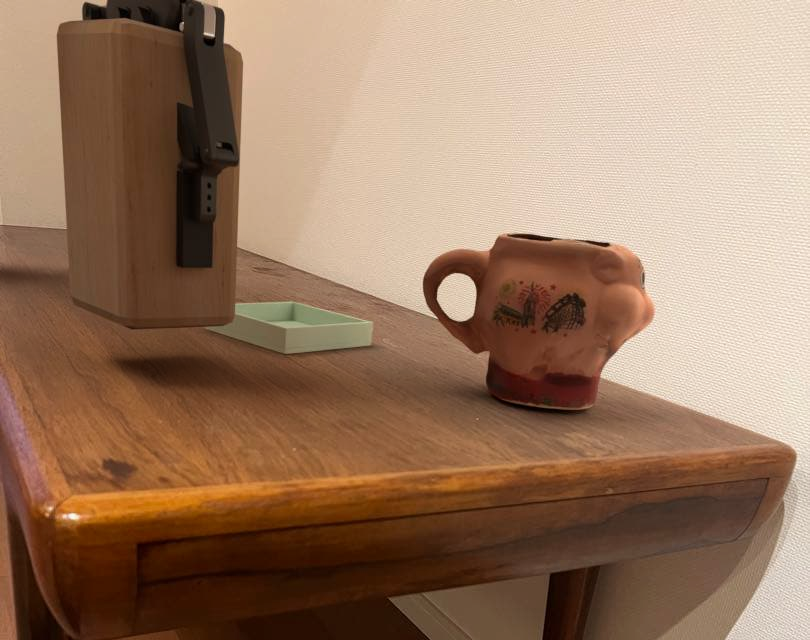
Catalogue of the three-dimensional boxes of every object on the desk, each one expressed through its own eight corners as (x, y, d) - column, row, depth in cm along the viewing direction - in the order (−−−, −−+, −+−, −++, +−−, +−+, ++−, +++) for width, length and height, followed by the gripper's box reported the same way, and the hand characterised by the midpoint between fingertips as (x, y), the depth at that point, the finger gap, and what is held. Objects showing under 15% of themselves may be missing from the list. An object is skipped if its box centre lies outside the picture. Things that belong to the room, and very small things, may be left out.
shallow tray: (204, 328, 83) (204, 304, 82) (292, 323, 92) (293, 301, 91) (284, 354, 76) (286, 328, 75) (371, 345, 85) (373, 322, 84)
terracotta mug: (418, 406, 63) (441, 224, 58) (404, 372, 74) (422, 216, 69) (651, 427, 66) (695, 254, 60) (604, 391, 77) (637, 242, 71)
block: (65, 306, 64) (49, 17, 55) (175, 304, 71) (175, 47, 62) (125, 332, 58) (118, 13, 49) (239, 328, 65) (249, 47, 56)
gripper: (305, -83, 49) (284, 280, 59) (106, -61, 62) (115, 236, 71) (208, -128, 44) (202, 281, 53) (11, -94, 56) (34, 233, 66)
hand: (152, 255), depth 62 cm, fingers closed on block, 10 cm apart
